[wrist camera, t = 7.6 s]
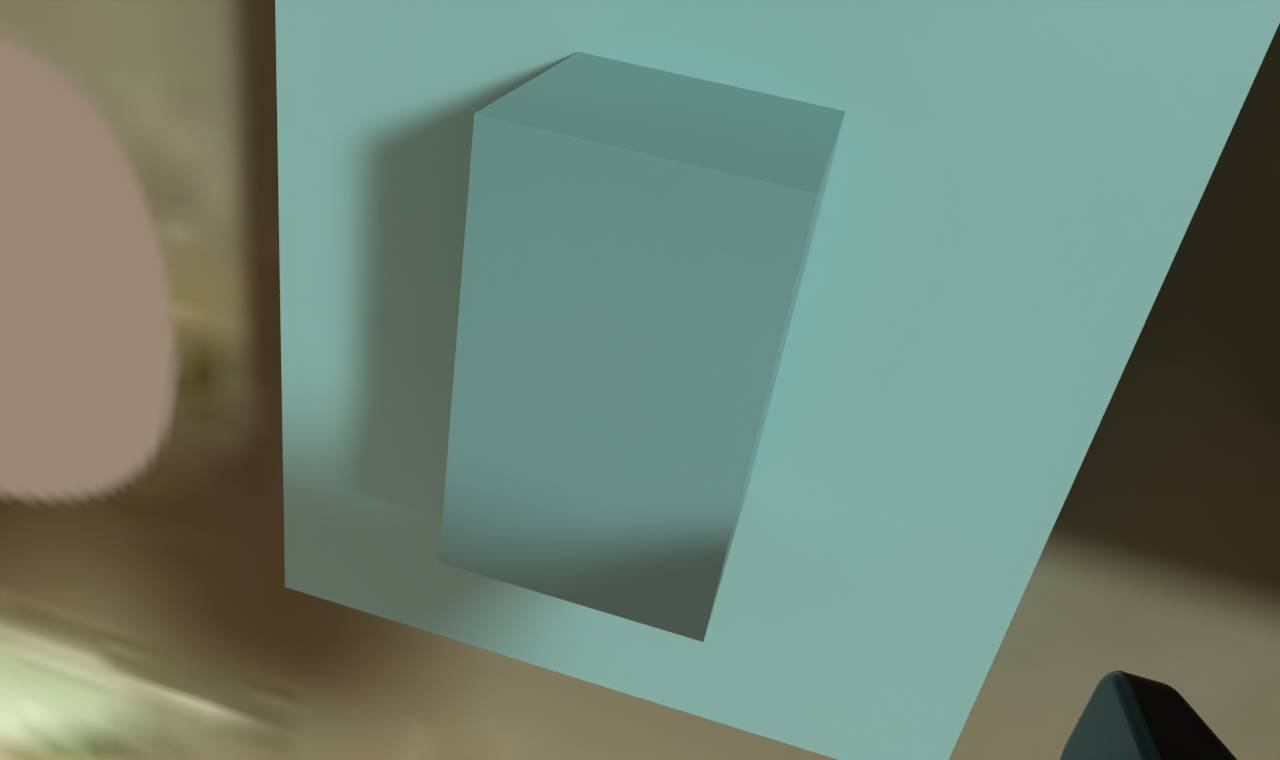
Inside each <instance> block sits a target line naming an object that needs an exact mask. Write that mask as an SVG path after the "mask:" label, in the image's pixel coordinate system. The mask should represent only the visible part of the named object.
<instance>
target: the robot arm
mask: <svg viewBox="0 0 1280 760" xmlns="http://www.w3.org/2000/svg"><path fill="white" fill-rule="evenodd" d="M1060 760H1237V759H1236V758H1235V757H1234V755H1233V754H1232V753H1231V752H1230V751H1229V750H1228V749H1227V747H1226V746H1225V745H1224V744H1223V743H1222V742H1221V741H1220V739H1219V738H1218V737H1217V736H1216V735H1215V734H1214V733H1213V731H1212V730H1211V729H1210V728H1209V727H1208V726H1207V725H1206V723H1205V722H1204V721H1203V720H1202V719H1201V718H1200V717H1199V715H1198V714H1197V713H1196V712H1195V711H1194V710H1193V708H1192V707H1191V706H1190V705H1189V704H1188V703H1187V702H1186V700H1185V699H1184V698H1183V697H1182V696H1181V695H1180V694H1179V693H1178V692H1177V691H1176V690H1175V689H1174V688H1172V687H1171V686H1169V685H1167V684H1164V683H1161V682H1157V681H1154V680H1150V679H1147V678H1143V677H1140V676H1137V675H1133V674H1130V673H1126V672H1123V671H1114V672H1110V673H1107V674H1106V675H1105V676H1104V677H1103V678H1102V679H1101V680H1100V682H1099V683H1098V685H1097V687H1096V688H1095V690H1094V692H1093V694H1092V696H1091V698H1090V700H1089V702H1088V704H1087V705H1086V707H1085V709H1084V711H1083V713H1082V715H1081V717H1080V719H1079V720H1078V722H1077V724H1076V726H1075V728H1074V730H1073V732H1072V734H1071V736H1070V737H1069V739H1068V741H1067V743H1066V745H1065V747H1064V749H1063V752H1062V755H1061V758H1060Z"/></svg>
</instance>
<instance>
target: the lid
mask: <svg viewBox="0 0 1280 760" xmlns="http://www.w3.org/2000/svg"><path fill="white" fill-rule="evenodd" d="M275 17H276V77H277V137H278V197H279V257H280V317H281V377H282V437H283V497H284V557H285V587H287V588H290V589H293V590H296V591H299V592H303V593H306V594H309V595H312V596H315V597H319V598H322V599H325V600H328V601H331V602H335V603H338V604H341V605H344V606H347V607H351V608H354V609H357V610H360V611H363V612H367V613H370V614H373V615H376V616H379V617H383V618H386V619H389V620H392V621H395V622H399V623H402V624H405V625H408V626H411V627H415V628H418V629H421V630H424V631H427V632H431V633H434V634H437V635H440V636H444V637H447V638H450V639H453V640H456V641H460V642H463V643H466V644H469V645H472V646H476V647H479V648H482V649H485V650H488V651H492V652H495V653H498V654H501V655H504V656H508V657H511V658H514V659H517V660H520V661H524V662H527V663H530V664H533V665H536V666H540V667H543V668H546V669H549V670H552V671H556V672H559V673H562V674H565V675H568V676H572V677H575V678H578V679H581V680H584V681H588V682H591V683H594V684H597V685H600V686H604V687H607V688H610V689H613V690H617V691H620V692H623V693H626V694H629V695H633V696H636V697H639V698H642V699H645V700H649V701H652V702H655V703H658V704H661V705H665V706H668V707H671V708H674V709H677V710H681V711H684V712H687V713H690V714H693V715H697V716H700V717H703V718H706V719H709V720H713V721H716V722H719V723H722V724H725V725H729V726H732V727H735V728H738V729H741V730H745V731H748V732H751V733H754V734H757V735H761V736H764V737H767V738H770V739H773V740H777V741H780V742H783V743H786V744H789V745H793V746H796V747H799V748H802V749H806V750H809V751H812V752H815V753H818V754H822V755H825V756H828V757H831V758H834V759H838V760H949V758H950V756H951V753H952V751H953V749H954V747H955V744H956V742H957V740H958V738H959V736H960V733H961V731H962V729H963V727H964V724H965V722H966V720H967V718H968V716H969V713H970V711H971V709H972V707H973V704H974V702H975V700H976V698H977V696H978V693H979V691H980V689H981V687H982V684H983V682H984V680H985V678H986V675H987V673H988V671H989V669H990V667H991V664H992V662H993V660H994V658H995V655H996V653H997V651H998V649H999V647H1000V644H1001V642H1002V640H1003V638H1004V635H1005V633H1006V631H1007V629H1008V627H1009V624H1010V622H1011V620H1012V618H1013V615H1014V613H1015V611H1016V609H1017V606H1018V604H1019V602H1020V600H1021V598H1022V595H1023V593H1024V591H1025V589H1026V586H1027V584H1028V582H1029V580H1030V578H1031V575H1032V573H1033V571H1034V569H1035V566H1036V564H1037V562H1038V560H1039V558H1040V555H1041V553H1042V551H1043V549H1044V546H1045V544H1046V542H1047V540H1048V537H1049V535H1050V533H1051V531H1052V529H1053V526H1054V524H1055V522H1056V520H1057V517H1058V515H1059V513H1060V511H1061V509H1062V506H1063V504H1064V502H1065V500H1066V497H1067V495H1068V493H1069V491H1070V488H1071V486H1072V484H1073V482H1074V480H1075V477H1076V475H1077V473H1078V471H1079V468H1080V466H1081V464H1082V462H1083V460H1084V457H1085V455H1086V453H1087V451H1088V448H1089V446H1090V444H1091V442H1092V440H1093V437H1094V435H1095V433H1096V431H1097V428H1098V426H1099V424H1100V422H1101V419H1102V417H1103V415H1104V413H1105V411H1106V408H1107V406H1108V404H1109V402H1110V399H1111V397H1112V395H1113V393H1114V391H1115V388H1116V386H1117V384H1118V382H1119V379H1120V377H1121V375H1122V373H1123V371H1124V368H1125V366H1126V364H1127V362H1128V359H1129V357H1130V355H1131V353H1132V350H1133V348H1134V346H1135V344H1136V342H1137V339H1138V337H1139V335H1140V333H1141V330H1142V328H1143V326H1144V324H1145V322H1146V319H1147V317H1148V315H1149V313H1150V310H1151V308H1152V306H1153V304H1154V302H1155V299H1156V297H1157V295H1158V293H1159V290H1160V288H1161V286H1162V284H1163V281H1164V279H1165V277H1166V275H1167V273H1168V270H1169V268H1170V266H1171V264H1172V261H1173V259H1174V257H1175V255H1176V253H1177V250H1178V248H1179V246H1180V244H1181V241H1182V239H1183V237H1184V235H1185V233H1186V230H1187V228H1188V226H1189V224H1190V221H1191V219H1192V217H1193V215H1194V212H1195V210H1196V208H1197V206H1198V204H1199V201H1200V199H1201V197H1202V195H1203V192H1204V190H1205V188H1206V186H1207V184H1208V181H1209V179H1210V177H1211V175H1212V172H1213V170H1214V168H1215V166H1216V164H1217V161H1218V159H1219V157H1220V155H1221V152H1222V150H1223V148H1224V146H1225V143H1226V141H1227V139H1228V137H1229V135H1230V132H1231V130H1232V128H1233V126H1234V123H1235V121H1236V119H1237V117H1238V115H1239V112H1240V110H1241V108H1242V106H1243V103H1244V101H1245V99H1246V97H1247V95H1248V92H1249V90H1250V88H1251V86H1252V83H1253V81H1254V79H1255V77H1256V74H1257V72H1258V70H1259V68H1260V66H1261V63H1262V61H1263V59H1264V57H1265V54H1266V52H1267V50H1268V48H1269V46H1270V43H1271V41H1272V39H1273V37H1274V34H1275V32H1276V30H1277V28H1278V26H1279V23H1280V0H275Z"/></svg>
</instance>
